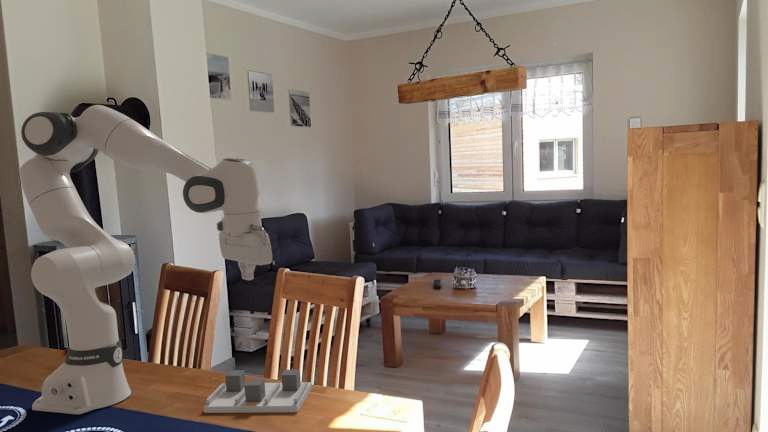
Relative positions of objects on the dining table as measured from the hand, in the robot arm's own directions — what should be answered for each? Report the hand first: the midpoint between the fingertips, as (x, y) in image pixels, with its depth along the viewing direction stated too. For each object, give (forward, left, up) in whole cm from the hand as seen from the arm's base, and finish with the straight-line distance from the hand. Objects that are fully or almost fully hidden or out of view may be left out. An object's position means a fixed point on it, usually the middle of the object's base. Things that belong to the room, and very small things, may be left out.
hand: (248, 279), depth 150 cm
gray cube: (-4, -5, -26) cm, 27 cm away
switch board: (+3, -8, -28) cm, 29 cm away
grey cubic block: (+3, -11, -26) cm, 29 cm away
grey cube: (+10, -5, -26) cm, 29 cm away
